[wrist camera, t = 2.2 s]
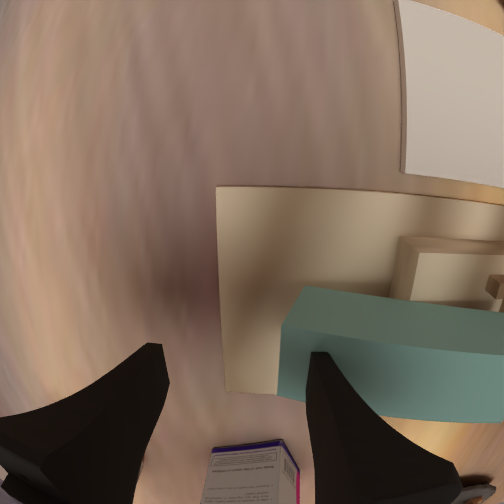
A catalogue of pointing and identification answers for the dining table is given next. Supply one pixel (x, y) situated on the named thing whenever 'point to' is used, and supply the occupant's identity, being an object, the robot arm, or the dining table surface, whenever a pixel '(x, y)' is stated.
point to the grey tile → (450, 95)
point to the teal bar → (399, 354)
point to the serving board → (475, 494)
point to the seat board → (343, 260)
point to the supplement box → (252, 475)
